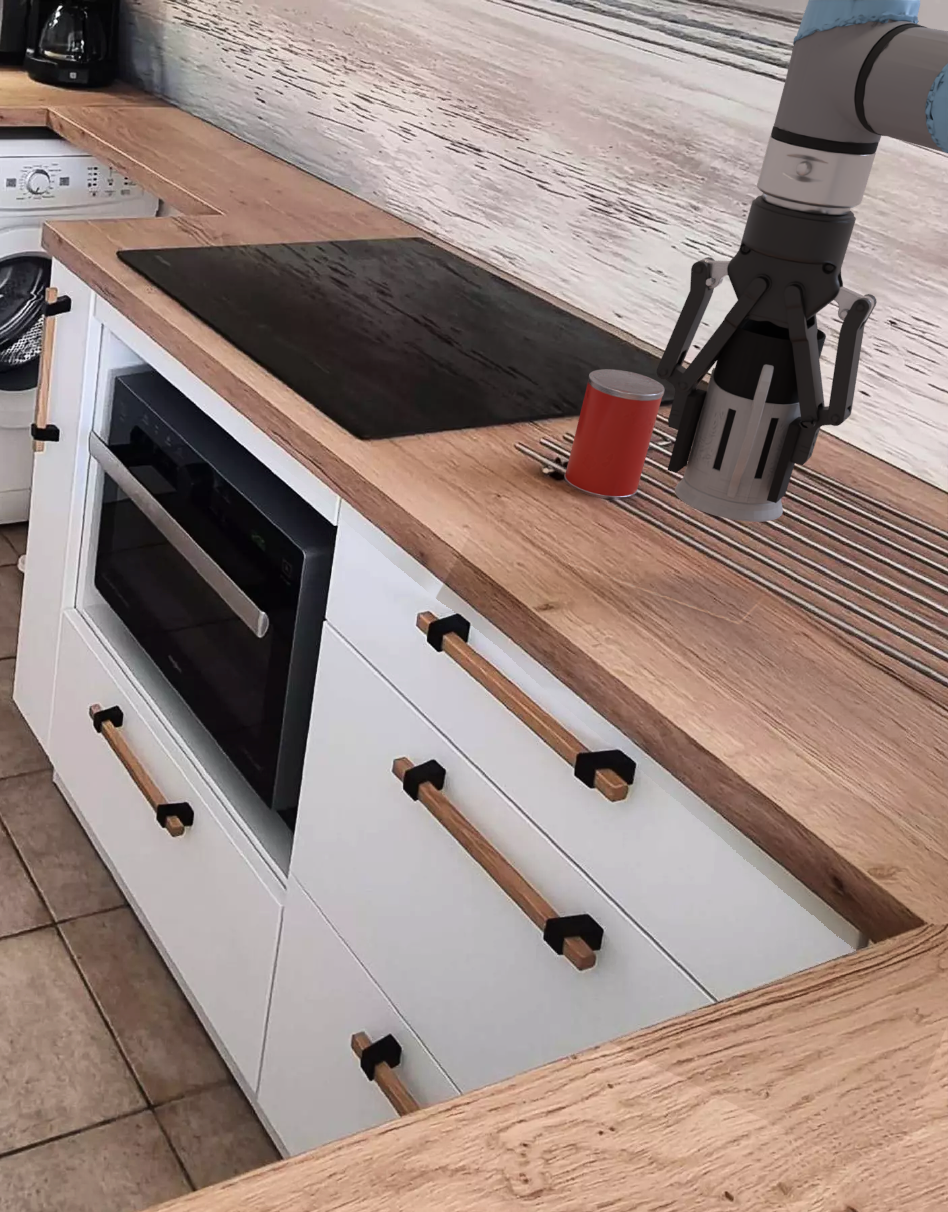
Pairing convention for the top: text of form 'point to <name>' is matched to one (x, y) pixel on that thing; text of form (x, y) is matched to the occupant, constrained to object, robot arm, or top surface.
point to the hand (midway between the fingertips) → (725, 481)
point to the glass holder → (744, 425)
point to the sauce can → (613, 434)
